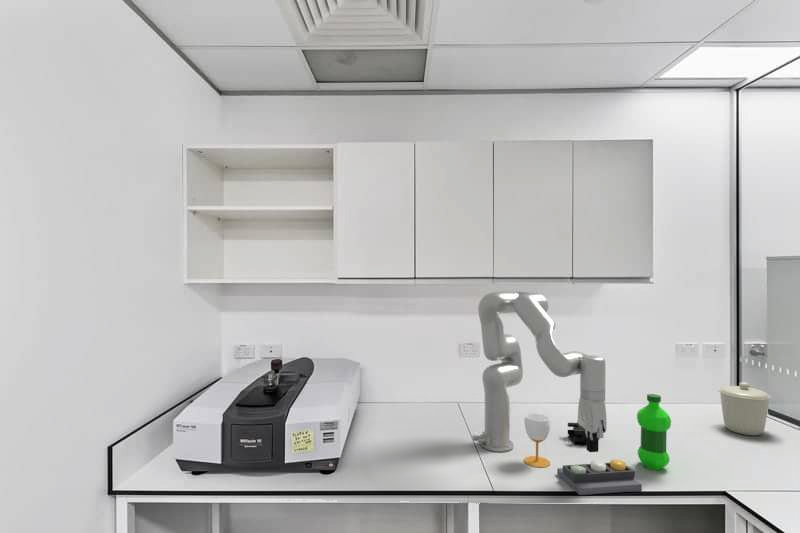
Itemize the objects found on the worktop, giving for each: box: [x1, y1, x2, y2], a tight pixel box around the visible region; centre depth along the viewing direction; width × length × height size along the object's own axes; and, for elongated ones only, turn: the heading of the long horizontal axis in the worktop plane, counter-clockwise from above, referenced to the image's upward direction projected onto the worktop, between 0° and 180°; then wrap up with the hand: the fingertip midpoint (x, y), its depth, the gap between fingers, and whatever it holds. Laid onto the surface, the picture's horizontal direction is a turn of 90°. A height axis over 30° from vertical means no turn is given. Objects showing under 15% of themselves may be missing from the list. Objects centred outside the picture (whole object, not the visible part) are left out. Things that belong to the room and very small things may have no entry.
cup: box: [523, 413, 551, 468], centre depth 164 cm, size 9×9×16 cm
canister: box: [718, 381, 772, 436], centre depth 196 cm, size 18×18×21 cm
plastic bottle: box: [636, 393, 672, 471], centre depth 161 cm, size 10×10×25 cm
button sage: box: [571, 464, 586, 474], centre depth 148 cm, size 5×5×2 cm
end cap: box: [567, 420, 587, 447], centre depth 184 cm, size 10×7×7 cm
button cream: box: [590, 460, 606, 473], centre depth 149 cm, size 5×5×2 cm
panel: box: [556, 462, 643, 496], centre depth 149 cm, size 21×14×4 cm, turn 99°
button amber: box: [609, 459, 627, 471], centre depth 150 cm, size 5×5×2 cm
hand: (592, 450), depth 148 cm, fingers closed
